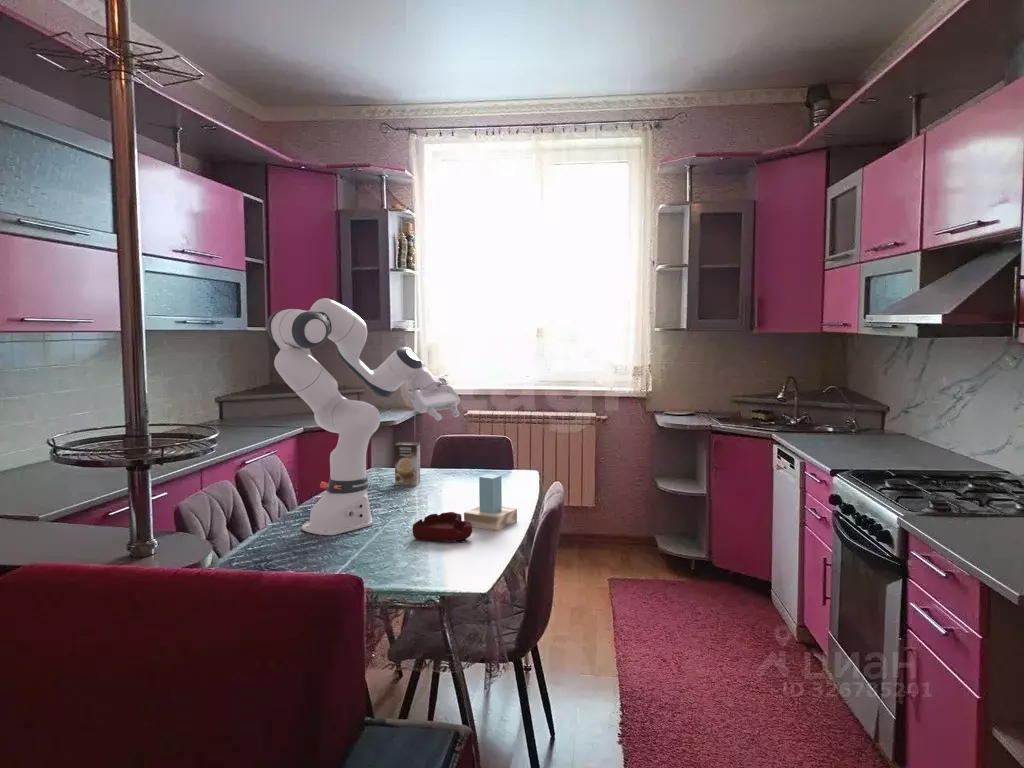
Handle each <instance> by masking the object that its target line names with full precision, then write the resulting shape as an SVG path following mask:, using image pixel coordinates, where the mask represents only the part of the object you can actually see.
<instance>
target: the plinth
mask: <svg viewBox="0 0 1024 768" xmlns="http://www.w3.org/2000/svg"><path fill="white" fill-rule="evenodd" d="M463 521H467V522H470V523H471V525H472V528H476V529H477V528H478V529H483V530H488V531H494V532H497V531H500V530H502V529H504V528H506V527H508V526H510V525H513V524H515V523H516V522H517V521H518V509H517V508H513V507H506V506H502V510H501V511H498V512H496V513H494V514H491V513H485V512H480V505H478V506H477V507H474V508H471V509H470V510H467V511H465V512H464V513H463Z"/></svg>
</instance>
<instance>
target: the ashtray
mask: <svg viewBox="0 0 1024 768" xmlns="http://www.w3.org/2000/svg"><path fill="white" fill-rule="evenodd" d="M462 519H463V518H462V514H461V513H456V512H455V511H448V512H442V513H440V514H438V513H432V514H428V515H427V516H425V517H424V519H419V520H417V521H416V522H414V523H413V524H412V536H413V538H414V539H416V540H417V541H427V542H428V541H429V542H430V541H431V542H432V541H433V542H457V543H464V542H467V541H466V540H467V539H469V538H470V537H471V535H473V534H472V533H473V527H472V525H471V523H470V522H467V521H464V520H462Z"/></svg>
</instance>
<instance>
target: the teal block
mask: <svg viewBox="0 0 1024 768" xmlns="http://www.w3.org/2000/svg"><path fill="white" fill-rule="evenodd" d="M478 482H479V483H478V485H479V486H478V488H479V491H478V493H479V494H478V495H479V496H478V497H479V500H478V501H479V506H480V512H485V513H491V514H494V513H496V512H498V511H501V510H502V507H503V506H502V505H503V503H502V495H503V494H502V487H503V486H502V475H500V474H499V475H498V474H492V473H491V474H490V473H486V474H483V475H481V476H479V477H478Z"/></svg>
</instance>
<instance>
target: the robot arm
mask: <svg viewBox="0 0 1024 768" xmlns="http://www.w3.org/2000/svg"><path fill="white" fill-rule="evenodd" d="M266 328H267V329H266V330H267V333H268V335H269V337H270V339H271V342H272V345H273V347H274V348H275V349H277V350H279V351H278V353H277V354H276V355H275V358H274V361H273V365H274V368H275V370H276V371H277V373H278V375H280V377H281V378H282V380H283V381H284V382H285V383H286V384H287V386H288V387H290V389H292V391H293V392H294V393H296V395H297V396H298V397H299V398H301V400H302V401H304V402H305V404H307V405H308V407H309V408H310V409H311V410H312V412H313V415H314V421H315V423H316V424H317V426H319V427H320V428H322V429H324V430H325V431H326V432H330V433H334V434H338V440H337V444H336V446H335V448H334V449H333V450H332V451H330V455H329V468H330V469H329V471H330V472H329V473H330V474H329V475H330V476H329V479H328V482H325V481H321V482H320V484H319V487H320V489H325V490H326V492H324V494H323V495H322V497H320V499H319V500H318V501H317V502H316V503H315V504H314V505H313V506H312V508H311V509H310V515H309V521H308V522H307V523H304V524H303V525H302V526H301V530H302V531H304V532H307V533H310V534H314V535H321V536H334V535H335V536H337V535H339V534H342V533H346V532H347V533H348V532H351V531H355V530H358V529H363V528H366V527H370V526H373V525H374V522H373V517H372V512H371V508H370V500H369V495H368V488H369V481H368V480H369V479H368V475H367V452H368V451H367V450H368V447H369V443H370V440H371V437H372V436H373V434H374V433H376V431H377V430H378V429H379V427H380V424H381V413H380V411H379V409H378V408H377V406H374V405H373V404H371V403H368V402H366V401H363V400H353V399H350V398H349V399H348V398H347V397H344V396H343V395H342V394H341V393H340V391H339V384H338V381H337V380H336V378H334V376H333V375H331V373H329V371H328V370H327V369H326V368H325V367H324V366H323V365H322V364H321V363H320V362H319V361H318V360H317V359H316V358H315V357H314V355H313V354H312V352H311V349H316V348H318V347H320V346H321V345H323V344H324V343H325V342H326V340H327V339H329V340H330V341H332V342H333V343H334V344H335V345H336V347H337V349H336V353H337V356H338V357H339V359H340V361H342V362H343V365H345V366H346V367H347V368H348V369H349V370H350V371H351V372H352V373H353V374H355V375H356V376H357V378H358V379H359V380H360V381H362V382H363V384H364V385H365V386H366V387H367V388H368V389H369V390H370V392H372V394H373V395H374V396H376V397H377V398H379V399H380V398H381V399H386V398H387V399H388V398H391V397H392V396H393V395H394V394H395V393H396V392H397V391H398V389H399V388H401V386H402V385H403V384H405V382H406V383H407V384H408V387H409V389H408V390H407V395H408V396H409V400H410V402H411V404H412V406H413V408H414V409H415V410H416V412H417V413H419V414H423V413H427V414H428V415H429V416H431V417H433V418H434V419H435V421H436V422H439V421H441V420H442V419H443V416H442V414H441V413H438V412H437V411H441V410H448V409H449V410H450V411H452V414H451V415H452V416H453V417H454V418H458V417H459V416H460V415H461V414H460V413H461V412H459V411H458V406H459V404H460V403H461V399H460V396H459V395H458V393H457V391H456V390H455V389H454V388H453V387H452V386H451V385H449V381H448V380H447V379H446V378H444V377H439V376H436V375H434V374H433V373H432V372H431V371H430V370H429V369H428V368H427V367H426V364H425V363H424V361H423V360H422V359H421V358H420V356H419V355H418V354H417V353H416V352H414V350H412V349H411V348H410V347H407V346H404V347H400V348H399V347H398V348H397V349H395V351H393V352H392V353H391V354H390V355H389V356H388V357H387V358H386V359H384V361H383V362H382V363H381V364H380V365H379V366H378V367H377V368H375V369H370V368H369V367H368V366H367V365H366V364H365V363H364V362H363V361H362V359H360V355H361V353H362V351H363V349H364V346H365V345H366V342H367V339H368V338H367V337H368V326H367V324H366V322H365V321H364V319H362V317H360V316H359V315H358V314H357V313H356V312H354V311H353V310H351V309H350V308H348V307H347V306H345V305H343V304H341V303H340V302H338V301H336V300H334V299H331V298H329V297H328V298H326V297H324V298H320V299H318V300H315V302H314V303H313V304H312V305H311V306H310V309H309V310H303V309H298V308H282V309H279V310H277V311H275V312H273V313H272V314H271V315H270V316H269V318H268V320H267V323H266Z"/></svg>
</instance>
